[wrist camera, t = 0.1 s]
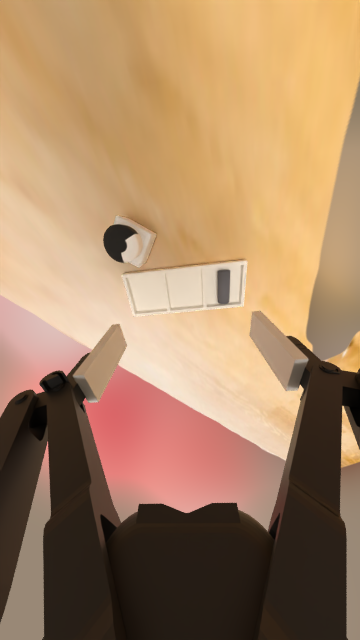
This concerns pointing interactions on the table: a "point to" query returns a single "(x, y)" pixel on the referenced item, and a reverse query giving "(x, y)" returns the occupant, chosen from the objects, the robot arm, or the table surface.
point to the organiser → (183, 288)
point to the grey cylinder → (223, 286)
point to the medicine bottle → (128, 241)
